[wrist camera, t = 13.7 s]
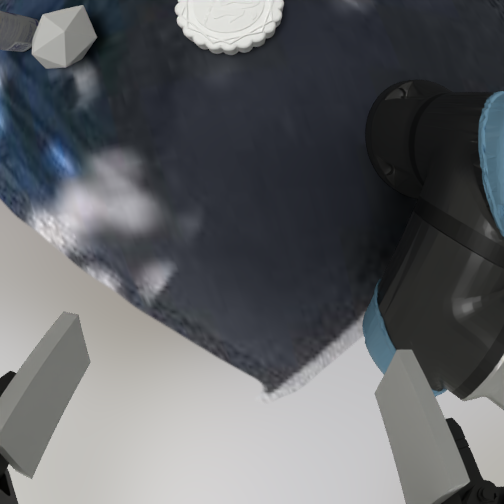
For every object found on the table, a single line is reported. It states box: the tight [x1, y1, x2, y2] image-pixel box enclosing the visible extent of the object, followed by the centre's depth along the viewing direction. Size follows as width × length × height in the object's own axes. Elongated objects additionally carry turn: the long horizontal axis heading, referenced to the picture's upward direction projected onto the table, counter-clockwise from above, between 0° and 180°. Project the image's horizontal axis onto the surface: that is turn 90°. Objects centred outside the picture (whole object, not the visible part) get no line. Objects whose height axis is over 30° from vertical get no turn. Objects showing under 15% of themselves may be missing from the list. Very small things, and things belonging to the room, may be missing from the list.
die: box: [32, 5, 97, 69], centre depth 26 cm, size 8×9×10 cm
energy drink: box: [0, 11, 39, 52], centre depth 23 cm, size 5×5×12 cm
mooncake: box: [175, 0, 284, 55], centre depth 27 cm, size 12×12×4 cm
